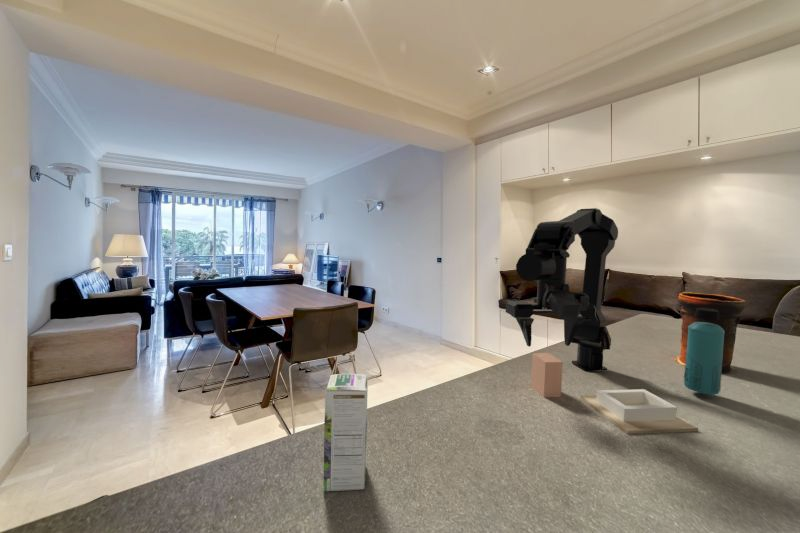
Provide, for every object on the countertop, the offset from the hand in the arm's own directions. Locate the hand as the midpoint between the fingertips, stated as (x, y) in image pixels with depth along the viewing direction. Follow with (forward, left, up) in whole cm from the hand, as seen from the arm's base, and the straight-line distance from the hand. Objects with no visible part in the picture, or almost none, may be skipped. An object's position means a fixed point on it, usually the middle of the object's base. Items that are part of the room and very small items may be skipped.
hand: (548, 345), depth 79 cm
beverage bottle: (+4, +35, -11) cm, 37 cm away
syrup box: (+26, -44, -11) cm, 52 cm away
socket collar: (+11, +13, -11) cm, 20 cm away
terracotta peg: (0, 0, -11) cm, 11 cm away
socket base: (+11, +13, -11) cm, 20 cm away
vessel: (-14, +55, -11) cm, 58 cm away
